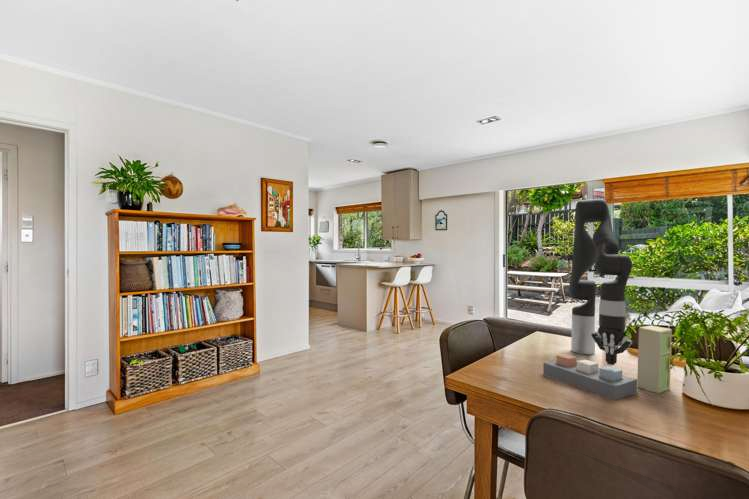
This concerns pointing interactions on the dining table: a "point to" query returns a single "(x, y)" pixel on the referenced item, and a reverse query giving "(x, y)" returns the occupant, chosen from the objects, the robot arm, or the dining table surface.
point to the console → (591, 381)
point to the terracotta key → (566, 360)
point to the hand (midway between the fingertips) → (610, 364)
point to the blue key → (610, 373)
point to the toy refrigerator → (654, 358)
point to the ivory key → (587, 366)
